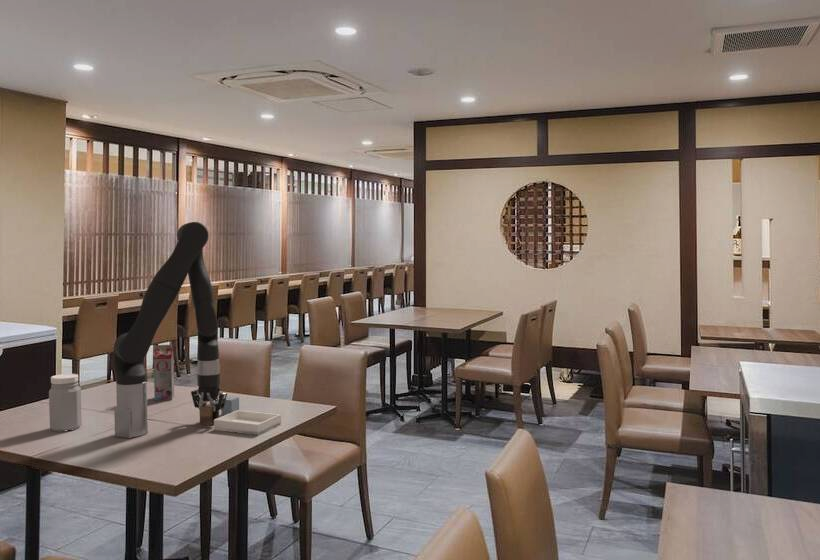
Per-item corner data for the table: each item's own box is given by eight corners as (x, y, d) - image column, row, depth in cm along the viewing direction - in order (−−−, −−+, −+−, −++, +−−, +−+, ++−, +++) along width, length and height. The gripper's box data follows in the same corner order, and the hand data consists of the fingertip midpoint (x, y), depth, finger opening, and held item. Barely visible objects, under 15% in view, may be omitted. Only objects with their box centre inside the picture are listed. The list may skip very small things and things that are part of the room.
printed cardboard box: (172, 400, 257) (171, 345, 256) (154, 401, 255) (153, 346, 254) (174, 396, 263) (173, 343, 262) (157, 397, 262) (156, 344, 260)
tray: (258, 435, 209) (258, 424, 208) (214, 429, 215) (213, 419, 215) (280, 424, 221) (280, 414, 221) (238, 419, 227) (238, 410, 227)
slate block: (231, 416, 232) (231, 400, 232) (221, 415, 234) (221, 399, 233) (239, 413, 236) (238, 397, 236) (229, 412, 238) (228, 396, 237)
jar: (65, 433, 210) (64, 379, 209) (42, 431, 213) (41, 377, 212) (88, 425, 220) (87, 374, 219) (66, 423, 223) (64, 372, 222)
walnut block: (210, 425, 221) (210, 408, 220) (199, 423, 222) (199, 406, 222) (218, 421, 225) (218, 405, 225) (208, 420, 227) (207, 403, 226)
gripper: (184, 372, 222) (185, 421, 223) (218, 375, 217) (219, 425, 218) (198, 369, 229) (199, 416, 230) (232, 371, 224) (233, 419, 225)
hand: (209, 420), depth 224 cm, fingers closed on walnut block, 4 cm apart
